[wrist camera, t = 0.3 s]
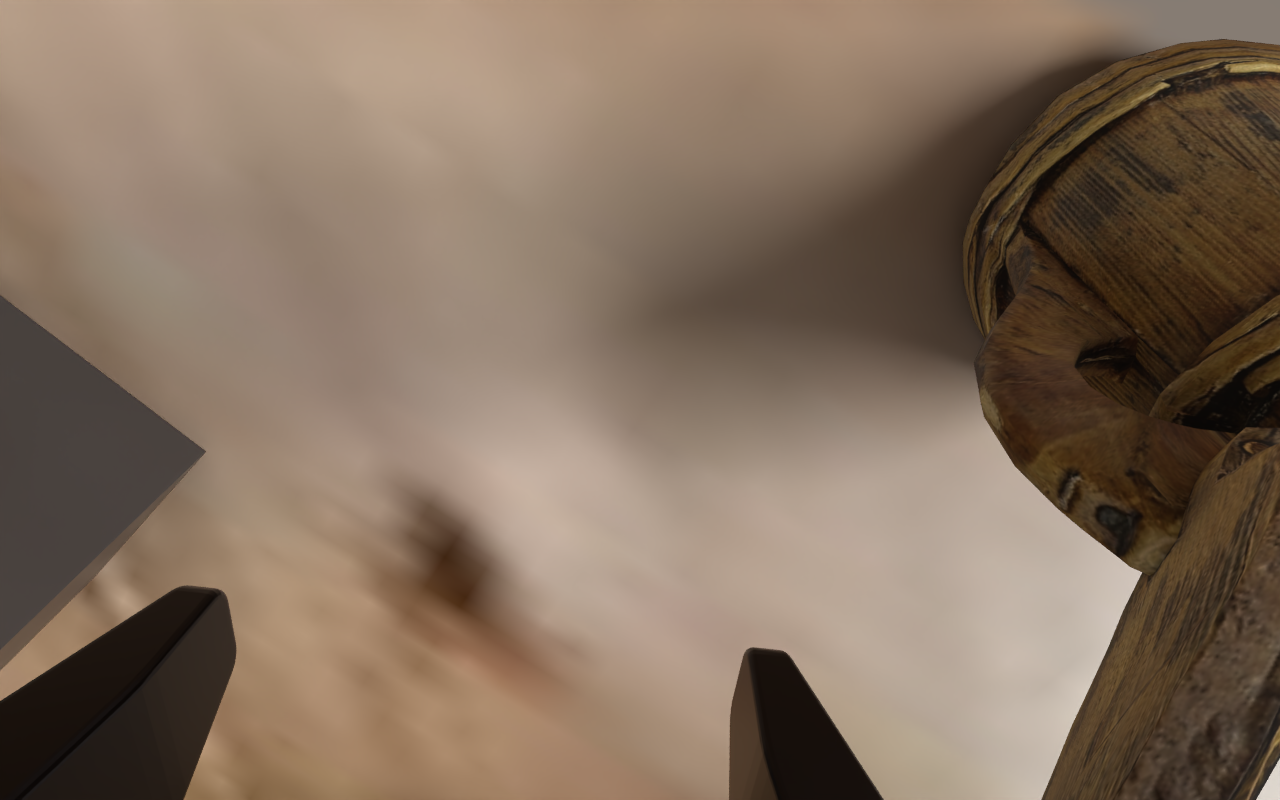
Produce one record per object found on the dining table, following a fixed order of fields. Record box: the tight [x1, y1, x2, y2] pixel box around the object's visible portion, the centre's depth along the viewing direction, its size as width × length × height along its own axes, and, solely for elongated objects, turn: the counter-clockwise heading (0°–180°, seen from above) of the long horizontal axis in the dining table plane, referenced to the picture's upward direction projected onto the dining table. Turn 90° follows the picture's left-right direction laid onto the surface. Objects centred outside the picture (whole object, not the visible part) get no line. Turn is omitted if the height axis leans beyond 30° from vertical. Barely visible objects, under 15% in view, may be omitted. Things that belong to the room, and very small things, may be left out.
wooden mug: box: [963, 39, 1280, 800], centre depth 14 cm, size 9×14×18 cm, turn 81°
